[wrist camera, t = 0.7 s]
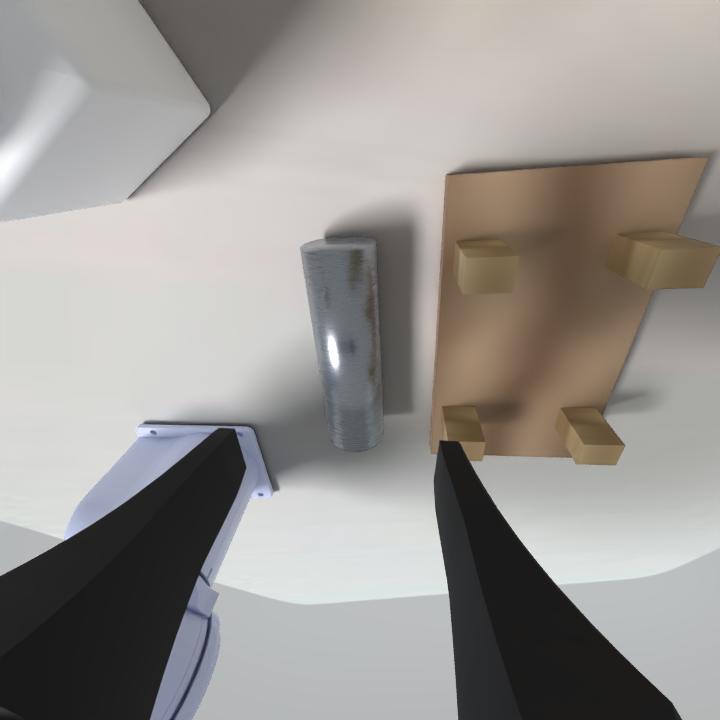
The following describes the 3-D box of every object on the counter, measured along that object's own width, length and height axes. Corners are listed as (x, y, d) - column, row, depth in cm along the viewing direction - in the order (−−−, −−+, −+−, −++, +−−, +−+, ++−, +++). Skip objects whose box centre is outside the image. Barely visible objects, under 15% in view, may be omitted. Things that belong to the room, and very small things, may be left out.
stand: (429, 442, 24) (434, 490, 20) (445, 174, 15) (459, 179, 12) (577, 446, 23) (609, 497, 19) (689, 157, 14) (784, 157, 10)
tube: (334, 413, 24) (324, 451, 20) (309, 238, 17) (291, 255, 14) (384, 413, 23) (382, 452, 20) (378, 234, 17) (373, 251, 14)
